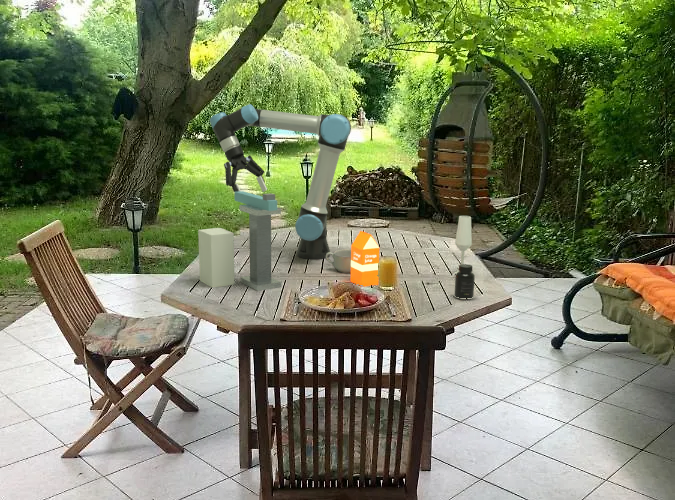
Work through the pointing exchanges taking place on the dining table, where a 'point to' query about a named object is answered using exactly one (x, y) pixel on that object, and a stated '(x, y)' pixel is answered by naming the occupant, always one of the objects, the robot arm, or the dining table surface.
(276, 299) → the dining table surface
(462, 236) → the champagne flute
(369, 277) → the orange juice
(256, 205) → the ledger bar
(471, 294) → the supplement bottle
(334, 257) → the teacup
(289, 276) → the dining table surface
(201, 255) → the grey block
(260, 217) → the standard post
